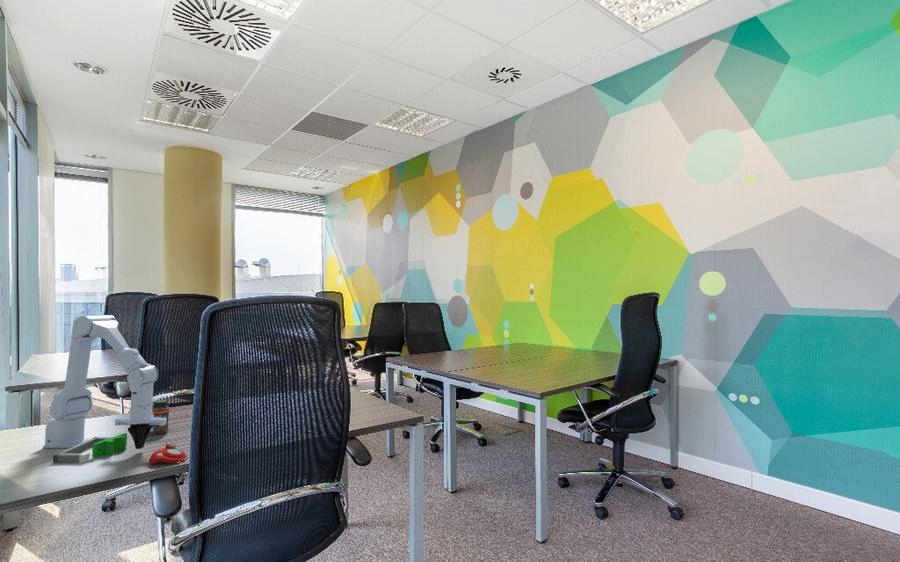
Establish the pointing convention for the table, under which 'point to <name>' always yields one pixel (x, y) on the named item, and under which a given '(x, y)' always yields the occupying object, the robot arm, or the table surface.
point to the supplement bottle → (162, 412)
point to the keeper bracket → (77, 452)
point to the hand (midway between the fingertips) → (139, 448)
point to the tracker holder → (167, 455)
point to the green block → (110, 446)
